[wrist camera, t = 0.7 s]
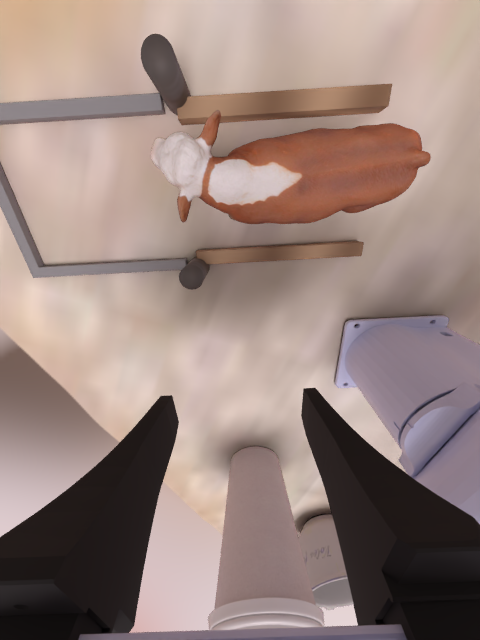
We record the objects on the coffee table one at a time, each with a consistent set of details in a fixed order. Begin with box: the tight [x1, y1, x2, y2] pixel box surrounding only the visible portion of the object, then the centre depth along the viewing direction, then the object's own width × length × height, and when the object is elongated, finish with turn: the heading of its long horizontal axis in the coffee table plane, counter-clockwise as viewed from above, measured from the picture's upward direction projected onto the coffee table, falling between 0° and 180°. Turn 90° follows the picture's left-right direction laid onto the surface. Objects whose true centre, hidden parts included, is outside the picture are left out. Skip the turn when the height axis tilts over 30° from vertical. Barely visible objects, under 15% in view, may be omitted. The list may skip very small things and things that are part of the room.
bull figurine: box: [150, 110, 431, 224], centre depth 13 cm, size 4×13×8 cm, turn 91°
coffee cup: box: [208, 446, 324, 630], centre depth 23 cm, size 10×10×15 cm
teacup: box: [298, 514, 353, 610], centre depth 34 cm, size 14×11×8 cm
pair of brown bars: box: [141, 34, 392, 289], centre depth 14 cm, size 14×12×4 cm
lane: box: [0, 93, 188, 278], centre depth 16 cm, size 13×11×1 cm
